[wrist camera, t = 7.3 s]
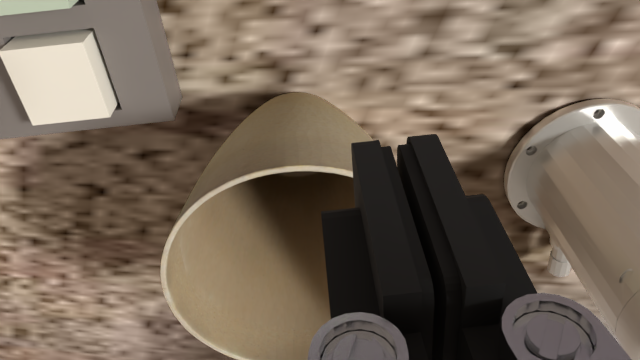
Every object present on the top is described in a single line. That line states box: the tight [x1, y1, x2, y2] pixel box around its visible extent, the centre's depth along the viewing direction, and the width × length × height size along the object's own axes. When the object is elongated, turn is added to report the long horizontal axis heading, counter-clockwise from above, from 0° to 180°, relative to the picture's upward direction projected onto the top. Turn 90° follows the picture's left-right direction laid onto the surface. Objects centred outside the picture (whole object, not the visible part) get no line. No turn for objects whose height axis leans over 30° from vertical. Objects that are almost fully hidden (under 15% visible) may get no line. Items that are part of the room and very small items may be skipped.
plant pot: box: [160, 92, 374, 360], centre depth 35 cm, size 15×15×16 cm
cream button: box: [0, 28, 119, 126], centre depth 33 cm, size 5×5×2 cm
